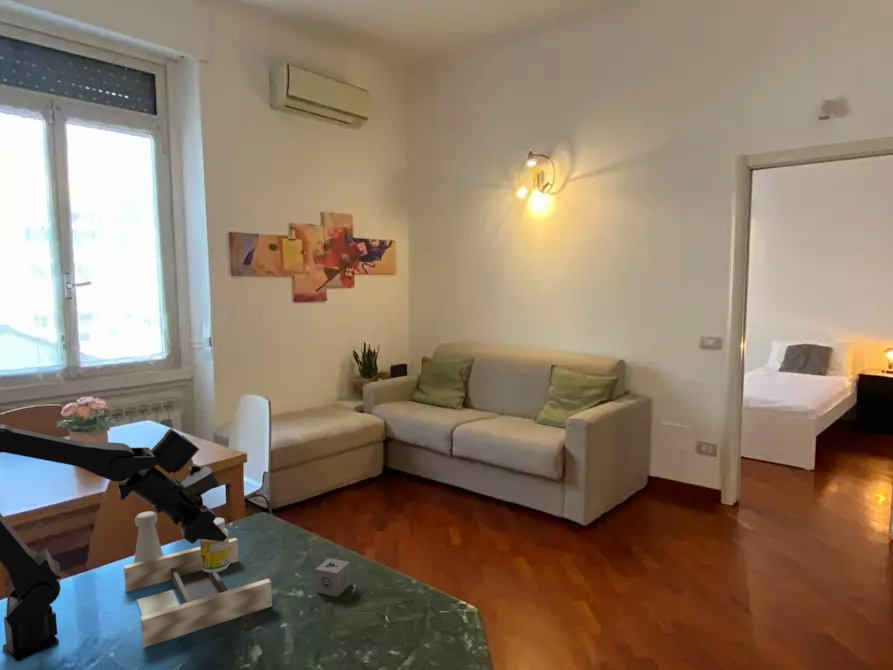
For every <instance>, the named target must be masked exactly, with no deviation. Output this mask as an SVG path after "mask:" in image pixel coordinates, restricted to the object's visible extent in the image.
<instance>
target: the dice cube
mask: <svg viewBox="0 0 893 670" xmlns="http://www.w3.org/2000/svg"><path fill="white" fill-rule="evenodd" d="M350 566H351V562H350V561H347V560H340V559H335V558H330V557H328V558H327V559H326V560H325V561H323V562H322V563H321V564H320V565H319V566H317V567H316V568H315V570H314V571H315V593H317V594H321V595H326V596H332V597H336V598H337V597H339V596H340V595H341V594H342V593H344V592H345V591H346V590H347V588H348V587H349V586H351V569H350V568H351V567H350Z"/></svg>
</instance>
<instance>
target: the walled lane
mask: <svg viewBox="0 0 893 670" xmlns="http://www.w3.org/2000/svg"><path fill="white" fill-rule="evenodd" d="M239 558H240V557H239V540H238V539H237V537H233V538H229V565H230V564H235V563H237V562H239ZM123 573H124V575H123V576H124V590H125V592H126V593H128V592H132V591H135V590H139V589H143V588H146V587H150V586H154V585H157V584H161V583H165V582H169V581H171V582H172V584H173V587H174V589H175V590H176V592H177V595H178V596H179V599H180V601H181V603H182V604H180V602H179V601H178V599H177V598H178V597H177V596H176V594H175V592H174V590H173V589H170V590H167V591H162V592H159V593H156V594H153V595H149V596H145V597H142V598H138V599H136V603H137V605H138V606H137V607H138V609H139V612H140V615H141V616H140V628H141V640H142V641H141V643H142V646H143V648H144V649H145V648H147V646H148V647H150V646H154V645H158V644H160V643H162V642H166V641H170V640H172V639H175V638H179V637H181V636H185V635H188V634H190V633H194V632H197V631H200V630H203V629H207V628H210V627H213V626H215V625H218V624H222V623H224V622H228V621H230V620H234V619H237V618H240V617H243V616H246V615H249V614H252V613H255V612H259V611H261V610H265V609H267V608H270V607H273V601H272V599H273V598H272V597H273V595H272V581H271V579H270V578H269V577H268V578H265V579H262V580H258V581H256V582H252V583H249V584H245V585H243V586H238V587H235V588H232V589H228V588H227V586H226V584H225V583H224V581H223V580H222V579H221V577H220V575H219V574H218V572H213V573H209V572H205V571H203V570H202V569H201V548H200V546H197V547H193V548H190V549H185V550H181V551H177V552H173V553H169V554H166V555H163V556H161V557H157V558H153V559H149V560H145V561H141V562H137V563H134V562H133V563H130V564H125V565H123Z"/></svg>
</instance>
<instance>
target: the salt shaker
mask: <svg viewBox="0 0 893 670" xmlns="http://www.w3.org/2000/svg"><path fill="white" fill-rule="evenodd" d="M134 518H135V519H134V523H135V526H136V527H138V531H137V540H136V547H135V552H134V553H135V554H134V560H133V561H134V562H133V563H137V562H141V561H145V560H149V559H153V558H157V557H161V556H164V553H163V549H162V546H161V542H160V539H159V535H158V531H157V527H156V524H157V522H158V514H157V513H156V512H155V511H150V510H148V511H143V512H140V513H138V514H137V515H136V517H134Z"/></svg>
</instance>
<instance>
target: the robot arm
mask: <svg viewBox="0 0 893 670" xmlns="http://www.w3.org/2000/svg"><path fill="white" fill-rule="evenodd" d="M199 451H200V447H198V446H197V445H196V444H194V442H192V441H191V440H189V439H188V438H187V437H186V436H184V435H183V434H182V435H181V434H180V433H178V432H177V431H175V430H174V429H173V428H169V429H168V430H167V431H166V432H165V433H164V435H163V436H162V438H161V439H160V440H159V441H158V442H157V443H156V444H155V445H154V446H153V447H152V448H150V447H130V446H129V445H127V444H126V443H123V442H109V441H99V442H97V441H96V442H86V441H85V442H83V441H79V440H73V439H70V438H69V439H68V438H63V437H60V436H55V435H50V434H44V433H40V432H35V431H30V430H26V429H21V428H16V427H13V426H11V425H8V424H5V423H4V424H2V423H0V454H1V453H6V454H11V455H16V456H21V457H26V458H31V459H38V460H43V461H46V462H47V461H48V462H53V463H58V464H63V465H67V466H68V465H69V466H74V467H77V468H80V469H83V470H85V471H88V472H89V473H92V474H93V475H95V476H99V477H100V478H104V479H106V480H109V481H112V482H116V485H117V488H118V492H117V494H118V496H119V499H120V500H122V501H124V500H125V499H126V498H127V497H128V496H129V495H130V494H131V493H133V494H134V495H136V496H137V497H139V498H140V499H141V500H143V501H144V502H146V503H147V504H149V505H150V506H152V507H153V508H154V510H155V511H156V512H157V513H159V514H161V513H162V514H164V515H165V516H167V517H168V518H169V519H170V520H171V522H172V523H173V524H175V525H176V526H178V525H179V523H180V524H181V525H180V534H181V535H182V537H183V539H184V540H186V541H187V542H188V543H190V544H192V545H193V544H194V543H196V542H197V541H198V540H200V539H205V540H215V541H224V540H225V539H226V538H227V536H226V535H225V534H224V533H223V532H222V531H221V529H220V528H219V527H218V526H217V525H216V524H215V523H214V522H213V521H214V520H215V518H217V515H216V513H214V511H213V510H212V509H211V508H209V507H208V506H207V505H205V504H204V500H203V497H202V495H203V494H205V493H207V492H210V490H212V489H215V488H217V487H218V486H219V485H220V482H219V480H218V478H217V477H216V474H215V473H214V471H213V470H212V468H211V467H210V466H206V465H204V466H202V467H201V466H199V465H197V464H195V463H194V464H192V465H191V466H189V467H188V475H187V476H185V479H184V480H182V481H180V480H178V479H177V478H175V479H174V478H171V477H170V476H168V475H167V474H165V473H164V472H162V471H161V470H160V469H158V467H156V466H159V467H160V468H161V469H162V470H164V471H165V472H166V473H168V474H171V473H174V474H176V472H177V473H180V472H181V471H182V469H183V468H184V467H186V465H187V464H188V463H189V462H190V461H191V460H192V458H193V457H194V456H195V455H196V454H197V453H198V452H199ZM0 564H1V565H2V566H3V567H4V568H5V569H6V571H7V574H8V577H9V579H10V583H11V584H12V587H13V590H11V592H10V593H9V594H8V595H7V597H6V614H5V616H4V617H3V623H4V634H5V635H4V636H5V644H3V645H2V650H3V651H4V652H5V653H6V654H8V655H9V656H10V657H11V658H12V659H13V660H14V661H15V662H19V661H22V660H25V659H26V658H28V657H30V656H33V655H35V654H37V653H39V652H41V651H44V650H45V649H48V648H50V647H53V646H55V645H57V644H58V643H60V639H59V638H57V637H56V636H57V635H58V626H57V625H58V624H57V614H56V612H54V611H53V606H52V605H51V604H52V603H54V602H55V601H56V600H57V599H58V597H59V595H60V592H61V581H60V579H61V578H62V575H61V569H60V562H59V561H57V560H55V559H54V558H53V557H52V556H51V554H50V552H49V550H48V548H47V547H45V548H43V549H42V550H41V551H39V552H37V551H35V550H33V549H31V548H30V547H29V546H28V544H26V543H25V541H24V540H23V539H22V538H21V537H20V535H19V534H18V533H17V532H16V530H15V529H14V528H13V526H11V524H10V523H9V521H8V520H6V518H5V517H4V515H2V513H1V512H0Z"/></svg>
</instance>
